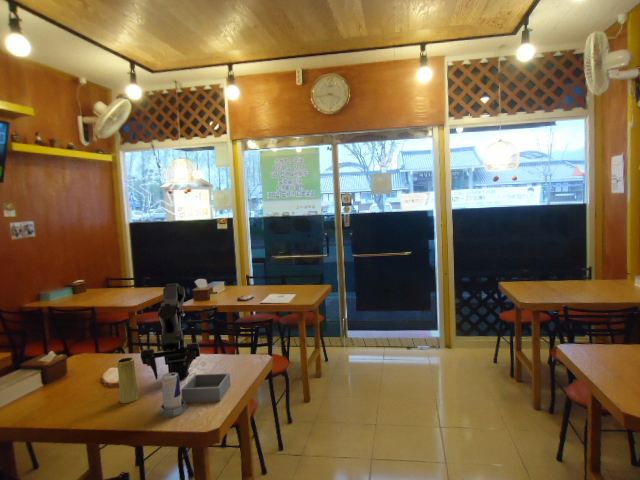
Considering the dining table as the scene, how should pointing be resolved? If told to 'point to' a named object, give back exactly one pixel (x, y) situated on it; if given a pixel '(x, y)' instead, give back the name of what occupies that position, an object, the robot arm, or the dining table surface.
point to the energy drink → (171, 391)
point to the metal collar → (173, 410)
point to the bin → (206, 387)
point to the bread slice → (111, 377)
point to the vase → (127, 380)
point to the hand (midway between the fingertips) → (171, 376)
